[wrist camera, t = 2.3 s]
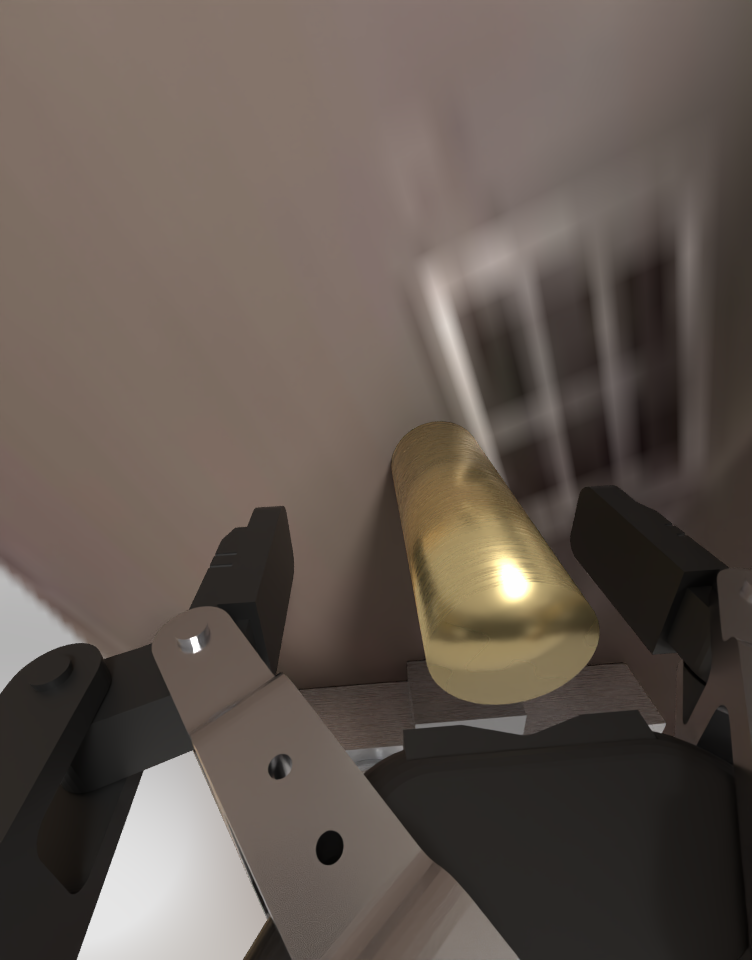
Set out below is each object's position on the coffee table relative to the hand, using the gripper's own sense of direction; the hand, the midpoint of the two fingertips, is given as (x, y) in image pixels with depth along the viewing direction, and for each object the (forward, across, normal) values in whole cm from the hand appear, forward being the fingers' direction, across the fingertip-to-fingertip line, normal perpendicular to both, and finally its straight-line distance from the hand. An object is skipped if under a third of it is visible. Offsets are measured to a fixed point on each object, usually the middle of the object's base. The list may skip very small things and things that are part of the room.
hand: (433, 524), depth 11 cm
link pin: (+4, -1, 0) cm, 4 cm away
